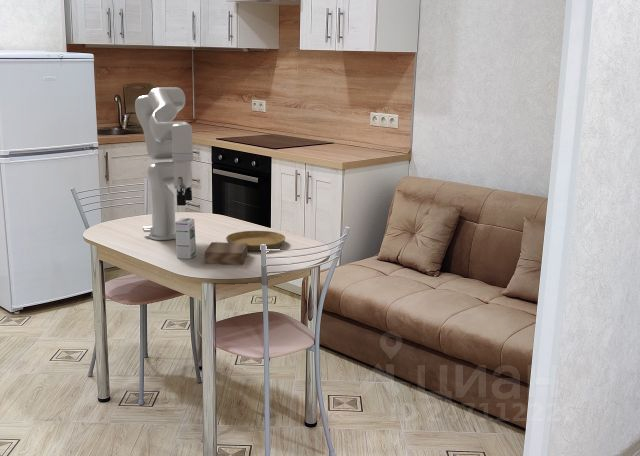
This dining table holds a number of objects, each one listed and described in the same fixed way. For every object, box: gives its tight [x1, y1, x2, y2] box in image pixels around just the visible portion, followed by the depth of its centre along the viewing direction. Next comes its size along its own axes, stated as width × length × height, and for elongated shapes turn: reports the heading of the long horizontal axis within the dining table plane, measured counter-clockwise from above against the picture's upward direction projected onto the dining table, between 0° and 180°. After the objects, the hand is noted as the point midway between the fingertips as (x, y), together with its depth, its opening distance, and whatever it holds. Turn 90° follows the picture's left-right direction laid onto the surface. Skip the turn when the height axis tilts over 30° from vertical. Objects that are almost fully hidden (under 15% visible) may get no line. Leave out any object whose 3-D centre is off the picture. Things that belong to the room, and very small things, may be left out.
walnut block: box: [204, 241, 249, 266], centre depth 272 cm, size 14×14×5 cm
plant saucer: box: [225, 230, 286, 252], centre depth 293 cm, size 24×24×3 cm
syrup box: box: [175, 217, 197, 260], centre depth 273 cm, size 6×6×14 cm
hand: (184, 202), depth 270 cm, fingers open, 9 cm apart
